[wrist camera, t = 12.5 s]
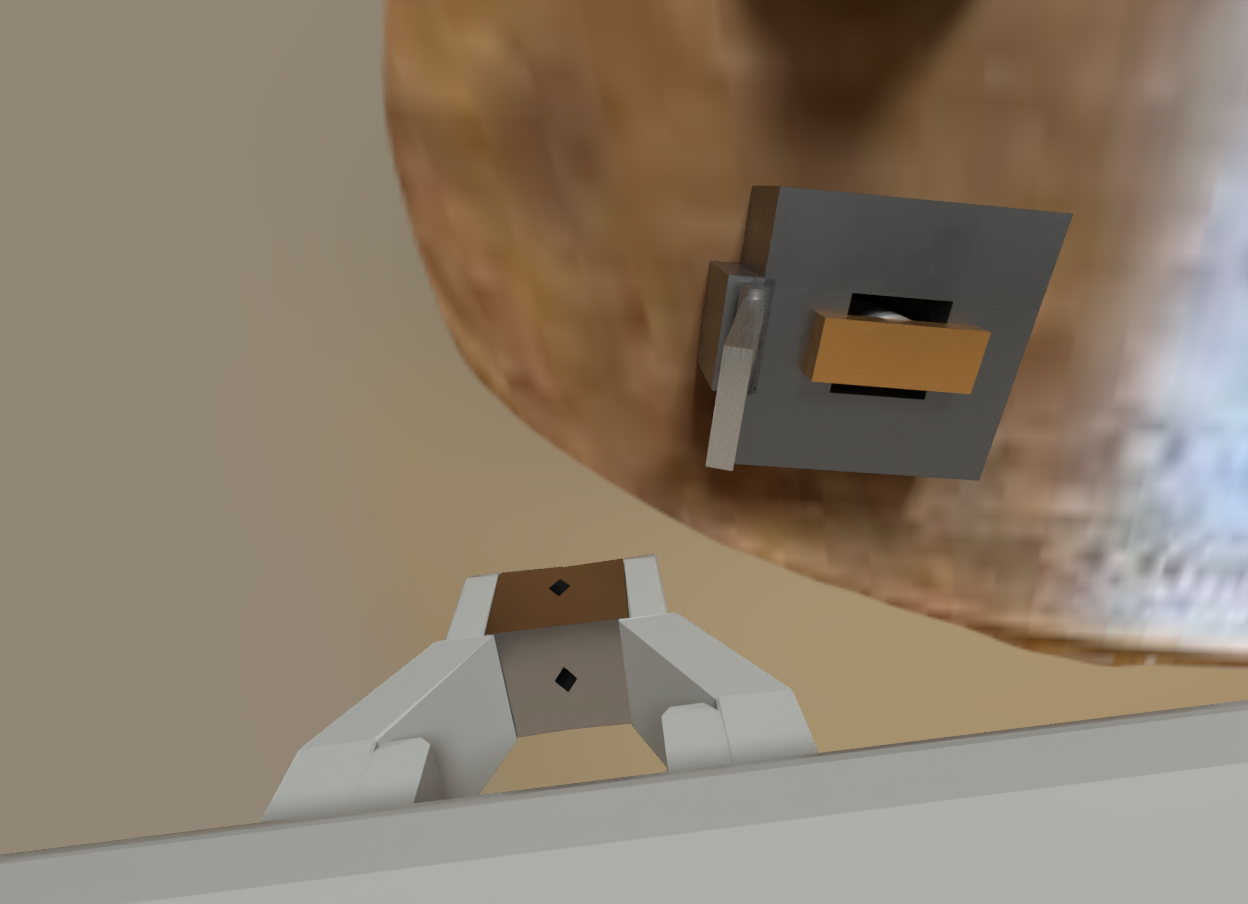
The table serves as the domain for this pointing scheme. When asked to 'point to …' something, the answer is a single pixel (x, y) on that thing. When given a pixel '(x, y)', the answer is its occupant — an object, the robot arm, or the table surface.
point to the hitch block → (927, 291)
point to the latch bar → (737, 375)
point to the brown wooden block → (893, 351)
